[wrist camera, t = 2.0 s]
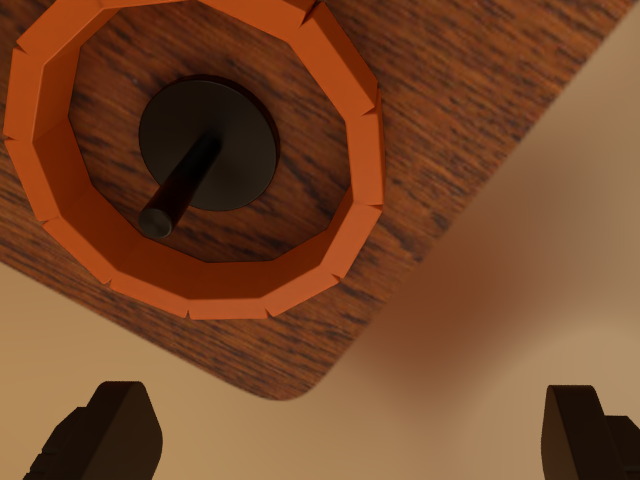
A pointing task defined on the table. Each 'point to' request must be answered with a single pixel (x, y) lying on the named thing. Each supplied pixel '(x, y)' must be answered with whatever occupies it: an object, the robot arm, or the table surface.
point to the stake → (205, 149)
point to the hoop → (154, 258)
